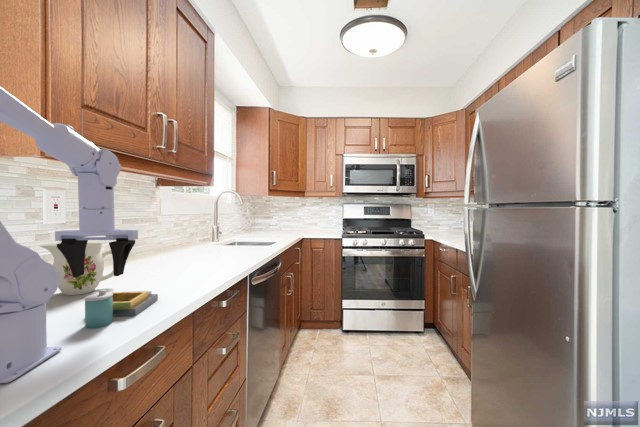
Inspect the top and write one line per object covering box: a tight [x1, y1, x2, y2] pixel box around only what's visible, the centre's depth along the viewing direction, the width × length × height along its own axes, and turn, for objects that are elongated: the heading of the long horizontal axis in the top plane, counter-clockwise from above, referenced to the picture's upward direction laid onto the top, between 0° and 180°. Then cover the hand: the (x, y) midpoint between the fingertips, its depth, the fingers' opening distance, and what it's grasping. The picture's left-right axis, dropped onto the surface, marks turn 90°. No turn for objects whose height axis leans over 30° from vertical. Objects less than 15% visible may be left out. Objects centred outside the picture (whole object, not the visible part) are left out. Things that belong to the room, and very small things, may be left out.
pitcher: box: [39, 242, 115, 296], centre depth 82 cm, size 11×18×14 cm, turn 136°
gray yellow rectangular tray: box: [111, 290, 159, 317], centre depth 70 cm, size 13×10×3 cm
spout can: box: [84, 289, 114, 330], centre depth 59 cm, size 5×5×7 cm
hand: (98, 275), depth 59 cm, fingers open, 7 cm apart
